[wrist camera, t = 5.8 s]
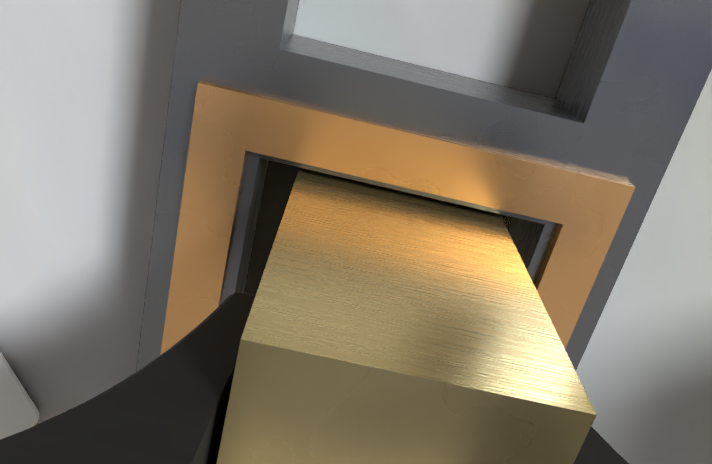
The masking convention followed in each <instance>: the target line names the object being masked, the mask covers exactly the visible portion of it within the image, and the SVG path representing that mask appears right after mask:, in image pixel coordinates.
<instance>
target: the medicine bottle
mask: <svg viewBox="0 0 712 464" xmlns="http://www.w3.org/2000/svg"><path fill="white" fill-rule="evenodd" d="M38 419H39V412H38V410H37V408H36V406H35V405H34V403H33V402H32V400H31V399H30V397H29V395H28V394H27V392H26V391H25V389H24V388H23V386H22V384H21V383H20V381H19V380H18V378H17V377H16V375H15V373H14V372H13V370H12V369H11V367H10V366H9V364H8V362H7V361H6V359H5V358H4V356H3V355H2V353H1V352H0V440H1V439H3V438H6V437H8V436H11V435H13V434H16V433H19V432H21V431H24V430H26V429H29V428H31V427H34V426H36V425H37V422H38Z"/></svg>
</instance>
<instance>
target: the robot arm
mask: <svg viewBox="0 0 712 464" xmlns="http://www.w3.org/2000/svg"><path fill="white" fill-rule="evenodd" d="M254 299H255V297H254V296H249V295H245V294H240V293H236V292H235V293H234V294H232V295H230V296H228V297H227V298H226V299H225V300H224V302H223V303H222V304H221V305H220V306H219V307H218V308H217V309H216V310H214V311H213V312H212V313H211V314H210V315H209V316H208V317H207V318H206V319H205V320H204V321H202V322H201V323H200V324H199V325H198V326H197V327H196V328H194V329H193V330H192V331H191V332H190V333H188V334H187V335H186V336H185V337H183V338H182V339H181V340H180V341H178V342H177V343H176V344H175V345H174V346H172V347H171V348H170V349H168V350H167V351H166V352H164V353H163V354H161V355H160V356H159V357H157V358H156V359H154V360H153V361H151V362H150V363H149V364H147V365H146V366H144V367H143V368H142V369H140V370H139V371H137V372H136V373H134V374H133V375H131V376H130V377H128V378H126V379H125V380H123V381H122V382H120V383H118V384H117V385H115V386H113V387H112V388H110V389H108V390H107V391H105V392H103V393H101V394H99V395H98V396H96V397H94V398H92V399H91V400H89V401H87V402H85V403H83V404H81V405H79V406H77V407H75V408H73V409H71V410H68V411H66V412H64V413H62V414H60V415H58V416H55V417H53V418H51V419H49V420H47V421H45V422H42V423H40V424H38V425H36V426H34V427H31V428H29V429H26V430H24V431H21V432H19V433H16V434H13V435H11V436H8V437H6V438H3V439H1V440H0V464H216V463H217V458H218V453H219V448H220V443H221V438H222V433H223V427H224V422H225V417H226V412H227V407H228V402H229V397H230V392H231V386H232V381H233V376H234V371H235V366H236V361H237V356H238V350H239V345H240V340H241V337H242V334H243V331H244V328H245V325H246V322H247V319H248V316H249V314H250V311H251V308H252V305H253V302H254ZM573 464H628V463H627V462H626V461H625V460H624V459H623V458H622V457H621V456H620V455H619V454H618V453H617V452H616V451H615V450H614V449H613V448H612V447H611V446H610V445H609V444H608V443H607V442H606V441H605V440H604V439H603V438H602V437H601V436H600V435H599V434H598V433H597V432H596V431H595V430H594V429H593V428H592V427H590V430H589V432H588V434H587V436H586V438H585V440H584V442H583V444H582V446H581V449H580V451H579V453H578V455H577V457H576V459H575V461H574V463H573Z"/></svg>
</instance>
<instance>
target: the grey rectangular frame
mask: <svg viewBox="0 0 712 464" xmlns="http://www.w3.org/2000/svg"><path fill="white" fill-rule="evenodd" d="M298 4H299V0H181V5H180V13H179V22H178V30H177V38H176V46H175V55H174V63H173V71H172V80H171V88H170V96H169V105H168V113H167V121H166V129H165V138H164V146H163V154H162V163H161V171H160V179H159V187H158V196H157V204H156V212H155V221H154V229H153V237H152V246H151V254H150V262H149V270H148V279H147V287H146V295H145V304H144V312H143V320H142V328H141V337H140V345H139V353H138V362H137V370H136V372H137V371H139V370H140V369H142V368H143V367H144V366H146V365H147V364H149V363H150V362H151V361H153V360H154V359H156V358H157V357H159V356H160V355H161V354H163V353H164V352H166V351H167V350H168V349H170V348H171V347H172V346H174V345H175V344H176V343H177V342H178V341H180V340H181V339H182V338H183V337H185V336H186V335H187V334H188V333H190V332H191V331H192V330H193V329H194V328H196V327H197V326H198V325H199V324H200V323H201V322H202V321H204V320H205V319H206V318H207V317H208V316H209V315H210V314H211V313H212V312H213V311H214V310H216V309H217V308H218V307H219V306H220V305H221V304H222V303H223V302H224V300H225V299H226V298H227V297H228V296H230V295H232V294H234V293H235V292H236V293H240V294H244V289H245V283H246V278H247V273H248V268H249V262H250V257H251V252H252V246H253V241H254V236H255V231H256V225H257V220H258V215H259V210H260V204H261V199H262V194H263V189H264V183H265V178H266V173H267V167H268V162H269V160H270V161H274V162H279V163H283V164H287V165H292V166H296V167H300V168H305V169H309V170H313V171H317V172H322V173H326V174H330V175H335V176H339V177H343V178H348V179H352V180H356V181H360V182H365V183H369V184H373V185H378V186H382V187H386V188H391V189H395V190H399V191H403V192H408V193H412V194H416V195H421V196H425V197H429V198H434V199H438V200H442V201H446V202H451V203H455V204H459V205H464V206H468V207H472V208H477V209H481V210H485V211H490V212H494V213H498V214H502V215H507V216H511V217H513V218H512V221H511V224H510V226H509V229H508V232H509V234H510V236H511V238H512V240H513V243H514V245H515V247H516V249H517V251H518V253H519V255H520V257H521V259H522V261H523V263H524V265H525V267H526V270H527V272H528V274H529V276H530V278H531V280H532V282H533V284H534V286H535V288H536V290H537V292H538V294H539V297H540V299H541V301H542V303H543V305H544V307H545V309H546V311H547V313H548V315H549V317H550V319H551V321H552V324H553V326H554V328H555V330H556V332H557V334H558V336H559V338H560V340H561V342H562V344H563V346H564V348H565V351H566V353H567V355H568V357H569V359H570V361H571V363H572V365H573V367H574V369H575V371H576V369H577V367H578V364H579V362H580V360H581V358H582V356H583V353H584V351H585V349H586V347H587V344H588V342H589V340H590V338H591V336H592V333H593V331H594V329H595V327H596V324H597V322H598V320H599V318H600V316H601V313H602V311H603V309H604V307H605V305H606V302H607V300H608V298H609V296H610V293H611V291H612V289H613V287H614V285H615V282H616V280H617V278H618V276H619V273H620V271H621V269H622V267H623V265H624V262H625V260H626V258H627V256H628V253H629V251H630V249H631V247H632V245H633V242H634V240H635V238H636V236H637V233H638V231H639V229H640V227H641V225H642V222H643V220H644V218H645V216H646V213H647V211H648V209H649V207H650V205H651V202H652V200H653V198H654V196H655V193H656V191H657V189H658V187H659V185H660V182H661V180H662V178H663V176H664V173H665V171H666V169H667V167H668V165H669V162H670V160H671V158H672V156H673V153H674V151H675V149H676V147H677V145H678V142H679V140H680V138H681V136H682V133H683V131H684V129H685V127H686V125H687V122H688V120H689V118H690V116H691V113H692V111H693V109H694V107H695V105H696V102H697V100H698V98H699V96H700V93H701V91H702V89H703V87H704V85H705V82H706V80H707V78H708V76H709V73H710V71H711V69H712V0H591V2H590V5H589V8H588V11H587V13H586V16H585V19H584V22H583V24H582V27H581V30H580V33H579V36H578V38H577V41H576V44H575V47H574V49H573V52H572V55H571V58H570V60H569V63H568V66H567V69H566V71H565V74H564V77H563V80H562V83H561V85H560V88H559V91H558V94H557V96H556V99H553V98H549V97H545V96H541V95H537V94H532V93H528V92H524V91H520V90H516V89H512V88H508V87H504V86H500V85H496V84H492V83H488V82H484V81H480V80H476V79H472V78H468V77H464V76H459V75H455V74H451V73H447V72H443V71H439V70H435V69H431V68H427V67H423V66H419V65H415V64H411V63H407V62H403V61H399V60H395V59H391V58H386V57H382V56H378V55H374V54H370V53H366V52H362V51H358V50H354V49H350V48H346V47H342V46H338V45H334V44H330V43H326V42H322V41H317V40H313V39H309V38H305V37H301V36H297V35H293V31H294V25H295V20H296V15H297V10H298Z"/></svg>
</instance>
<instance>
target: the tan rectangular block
mask: <svg viewBox="0 0 712 464" xmlns="http://www.w3.org/2000/svg"><path fill="white" fill-rule="evenodd" d="M595 417H596V413H595V411H594V409H593V407H592V405H591V402H590V400H589V398H588V396H587V394H586V392H585V390H584V388H583V386H582V384H581V382H580V380H579V378H578V375H577V373H576V371H575V369H574V367H573V365H572V363H571V361H570V359H569V357H568V355H567V353H566V351H565V348H564V346H563V344H562V342H561V340H560V338H559V336H558V334H557V332H556V330H555V328H554V326H553V324H552V321H551V319H550V317H549V315H548V313H547V311H546V309H545V307H544V305H543V303H542V301H541V299H540V297H539V294H538V292H537V290H536V288H535V286H534V284H533V282H532V280H531V278H530V276H529V274H528V272H527V270H526V267H525V265H524V263H523V261H522V259H521V257H520V255H519V253H518V251H517V249H516V247H515V245H514V243H513V240H512V238H511V236H510V234H509V232H508V230H507V228H506V226H505V224H504V222H503V220H502V218H501V216H500V214H498V213H494V212H490V211H485V210H481V209H477V208H472V207H468V206H464V205H459V204H455V203H451V202H446V201H442V200H438V199H434V198H429V197H425V196H421V195H416V194H412V193H408V192H403V191H399V190H395V189H391V188H386V187H382V186H378V185H373V184H369V183H365V182H360V181H356V180H352V179H348V178H343V177H339V176H335V175H330V174H326V173H322V172H317V171H313V170H309V169H305V168H299V170H298V173H297V176H296V179H295V182H294V185H293V188H292V191H291V194H290V197H289V200H288V203H287V205H286V208H285V211H284V214H283V217H282V220H281V223H280V226H279V229H278V232H277V235H276V238H275V241H274V243H273V246H272V249H271V252H270V255H269V258H268V261H267V264H266V267H265V270H264V273H263V276H262V278H261V281H260V284H259V287H258V290H257V293H256V296H255V299H254V302H253V305H252V308H251V311H250V314H249V316H248V319H247V322H246V325H245V328H244V331H243V334H242V337H241V340H240V345H239V350H238V356H237V361H236V366H235V371H234V376H233V381H232V386H231V392H230V397H229V402H228V407H227V412H226V417H225V422H224V427H223V433H222V438H221V443H220V448H219V453H218V458H217V463H216V464H573V463H574V461H575V459H576V457H577V455H578V453H579V451H580V449H581V446H582V444H583V442H584V440H585V438H586V436H587V434H588V432H589V430H590V427H591V425H592V423H593V421H594V419H595Z"/></svg>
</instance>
